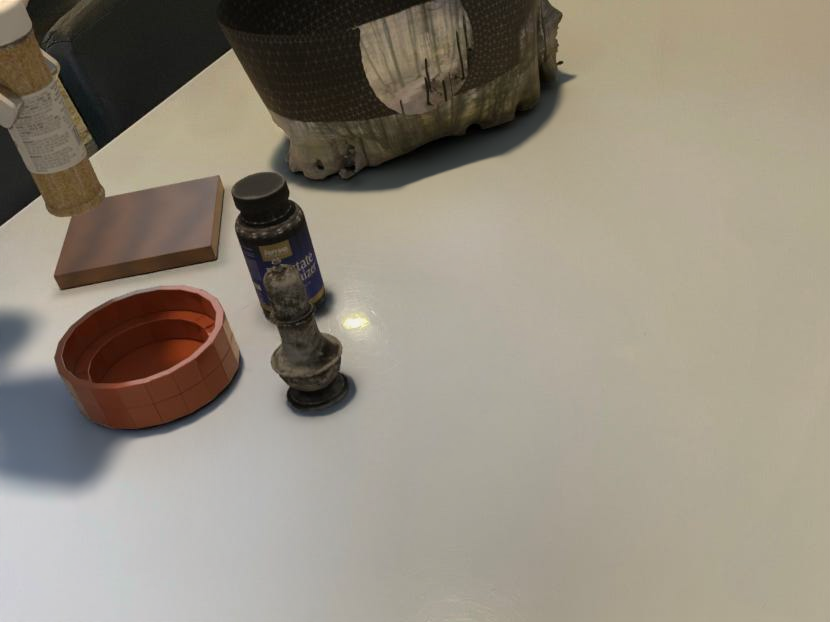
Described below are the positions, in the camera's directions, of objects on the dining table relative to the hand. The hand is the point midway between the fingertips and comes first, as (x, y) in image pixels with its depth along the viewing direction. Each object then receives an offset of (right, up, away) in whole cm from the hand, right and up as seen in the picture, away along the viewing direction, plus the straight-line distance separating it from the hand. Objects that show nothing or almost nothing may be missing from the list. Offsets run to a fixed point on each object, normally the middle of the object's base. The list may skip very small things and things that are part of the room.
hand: (36, 97), depth 66 cm
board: (-4, +5, +34) cm, 35 cm away
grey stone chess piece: (+17, -17, +14) cm, 28 cm away
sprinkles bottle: (0, -5, +6) cm, 8 cm away
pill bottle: (+13, -6, +23) cm, 27 cm away
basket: (+23, +21, +42) cm, 53 cm away
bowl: (+3, -14, +18) cm, 23 cm away
